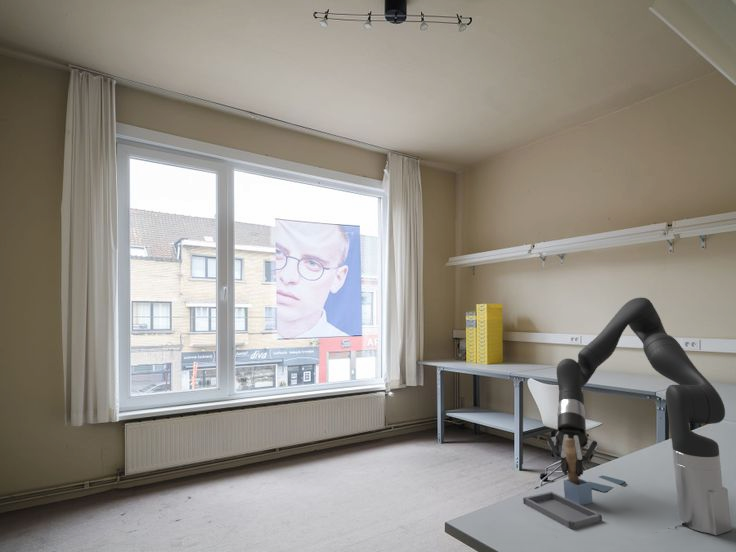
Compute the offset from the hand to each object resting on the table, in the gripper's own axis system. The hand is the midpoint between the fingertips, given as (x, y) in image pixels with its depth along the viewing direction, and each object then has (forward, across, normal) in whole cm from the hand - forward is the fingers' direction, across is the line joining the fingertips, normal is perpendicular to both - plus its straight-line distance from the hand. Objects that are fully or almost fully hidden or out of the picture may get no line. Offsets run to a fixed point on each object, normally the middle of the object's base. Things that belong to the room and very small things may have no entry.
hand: (572, 474), depth 116 cm
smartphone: (-7, -7, -20) cm, 22 cm away
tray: (+11, +3, -1) cm, 11 cm away
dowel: (+4, 0, -7) cm, 8 cm away
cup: (+4, -1, -8) cm, 9 cm away
